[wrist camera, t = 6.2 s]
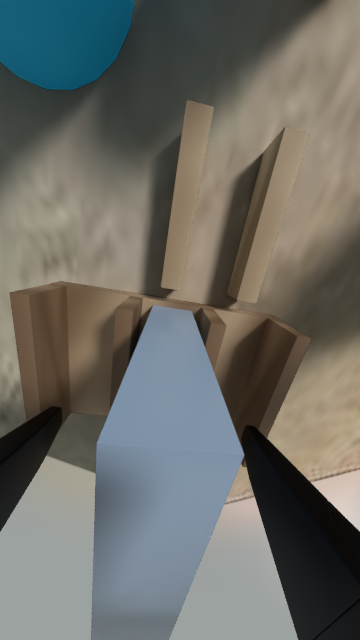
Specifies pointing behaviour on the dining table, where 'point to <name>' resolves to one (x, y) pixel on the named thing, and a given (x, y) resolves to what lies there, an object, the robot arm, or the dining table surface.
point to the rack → (120, 343)
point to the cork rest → (263, 210)
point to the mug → (62, 39)
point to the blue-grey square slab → (159, 480)
